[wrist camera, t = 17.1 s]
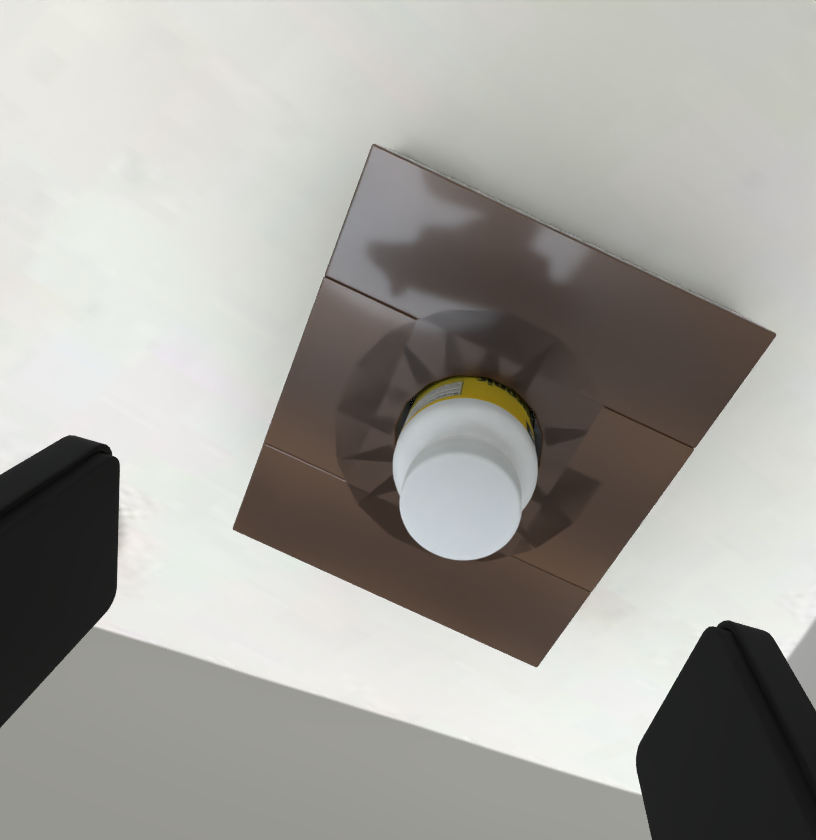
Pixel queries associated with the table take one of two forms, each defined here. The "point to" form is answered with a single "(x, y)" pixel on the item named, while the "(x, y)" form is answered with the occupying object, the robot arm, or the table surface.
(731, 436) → the table surface
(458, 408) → the supplement bottle
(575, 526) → the holder block
